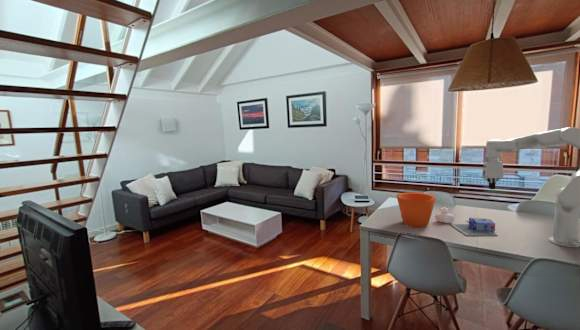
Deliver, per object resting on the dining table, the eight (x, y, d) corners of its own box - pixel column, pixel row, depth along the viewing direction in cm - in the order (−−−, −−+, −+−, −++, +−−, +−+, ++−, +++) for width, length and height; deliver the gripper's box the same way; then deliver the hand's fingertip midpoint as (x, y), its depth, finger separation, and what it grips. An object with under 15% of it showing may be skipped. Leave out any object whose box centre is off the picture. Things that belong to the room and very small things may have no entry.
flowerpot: (410, 231, 179) (411, 202, 176) (389, 220, 203) (389, 194, 201) (444, 227, 184) (444, 198, 181) (419, 216, 208) (419, 191, 206)
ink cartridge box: (495, 222, 171) (468, 222, 176) (495, 231, 172) (468, 230, 177) (490, 218, 180) (464, 217, 185) (490, 226, 181) (464, 225, 186)
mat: (497, 236, 166) (497, 235, 166) (466, 236, 168) (466, 235, 168) (477, 224, 186) (477, 223, 186) (449, 225, 188) (450, 224, 188)
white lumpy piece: (454, 225, 192) (453, 210, 197) (455, 222, 186) (454, 206, 191) (434, 223, 198) (434, 209, 203) (435, 220, 192) (435, 205, 197)
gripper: (484, 161, 168) (483, 190, 170) (510, 160, 167) (508, 189, 169) (476, 159, 175) (475, 187, 177) (501, 158, 174) (500, 187, 176)
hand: (491, 188), depth 173 cm, fingers closed
